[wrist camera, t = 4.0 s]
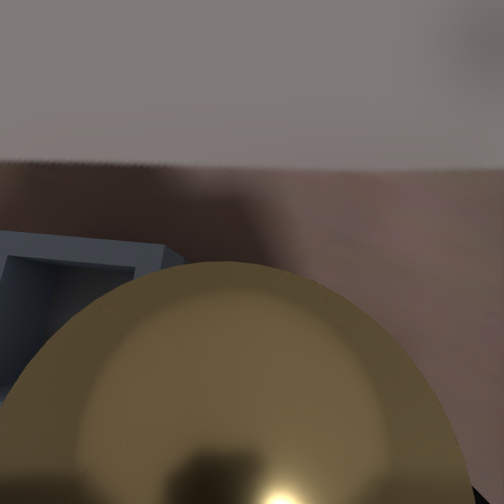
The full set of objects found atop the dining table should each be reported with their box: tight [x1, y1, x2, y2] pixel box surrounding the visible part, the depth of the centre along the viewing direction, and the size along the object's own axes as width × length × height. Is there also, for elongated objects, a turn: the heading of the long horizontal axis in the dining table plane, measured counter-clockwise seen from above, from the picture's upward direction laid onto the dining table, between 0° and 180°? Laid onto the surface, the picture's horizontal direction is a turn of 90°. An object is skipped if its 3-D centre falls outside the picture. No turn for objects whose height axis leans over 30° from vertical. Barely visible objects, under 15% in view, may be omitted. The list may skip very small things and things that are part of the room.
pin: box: [0, 261, 475, 504], centre depth 9 cm, size 5×5×13 cm
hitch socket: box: [0, 230, 190, 408], centre depth 14 cm, size 18×9×5 cm, turn 175°
